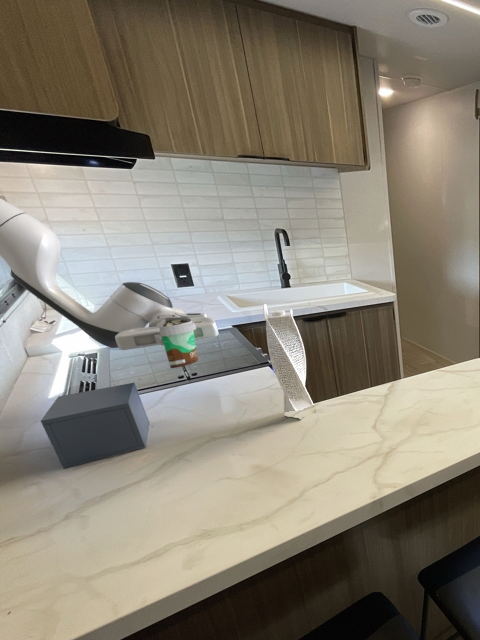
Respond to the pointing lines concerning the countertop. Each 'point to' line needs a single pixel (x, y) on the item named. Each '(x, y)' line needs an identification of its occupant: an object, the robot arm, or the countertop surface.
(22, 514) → the countertop surface
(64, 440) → the cabinet
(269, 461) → the countertop surface
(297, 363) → the skyscraper
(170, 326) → the food container
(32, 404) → the countertop surface
